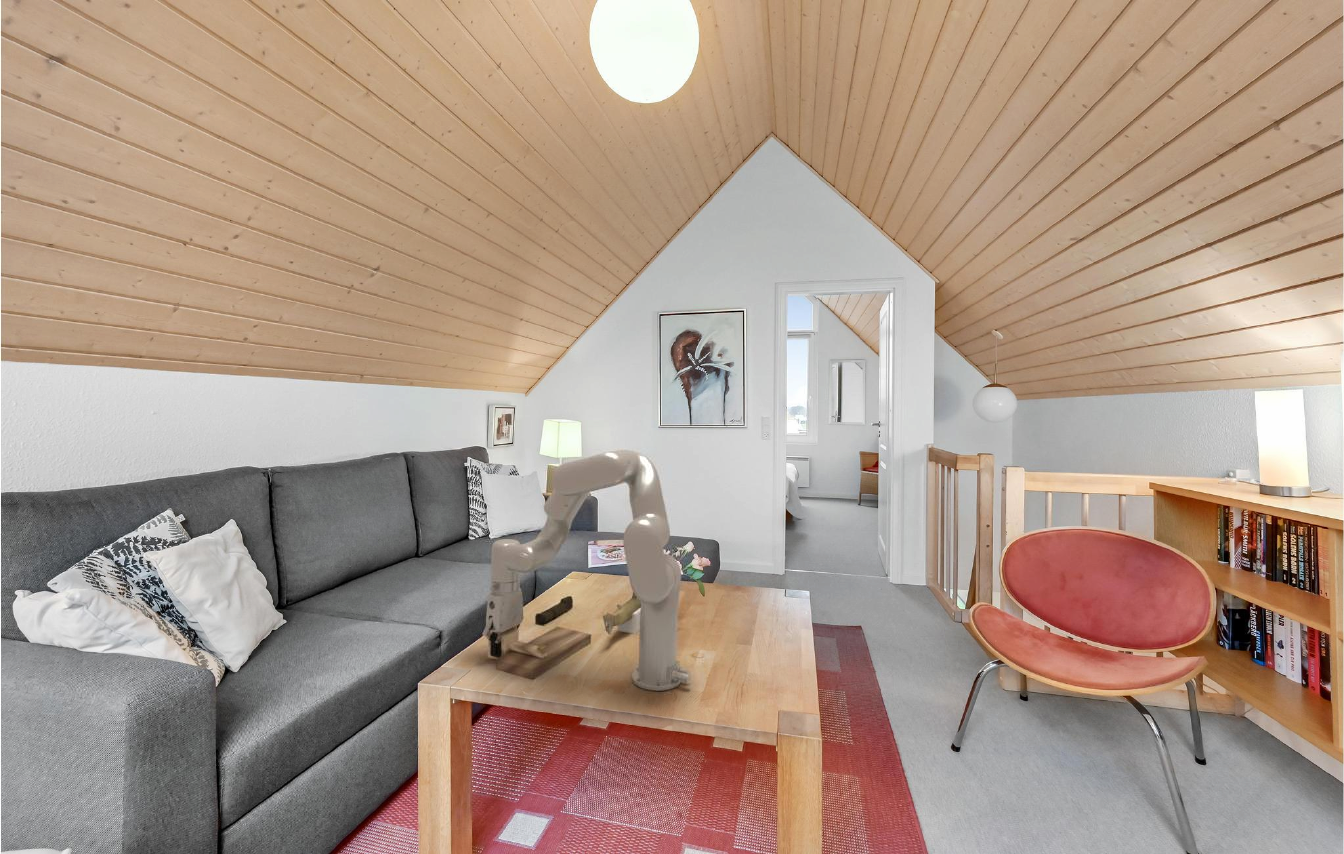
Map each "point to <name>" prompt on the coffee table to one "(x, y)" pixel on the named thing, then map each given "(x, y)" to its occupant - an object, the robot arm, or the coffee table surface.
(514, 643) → the beige block with stick
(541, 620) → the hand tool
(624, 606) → the wood carving
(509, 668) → the board
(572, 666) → the coffee table surface
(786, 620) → the coffee table surface
